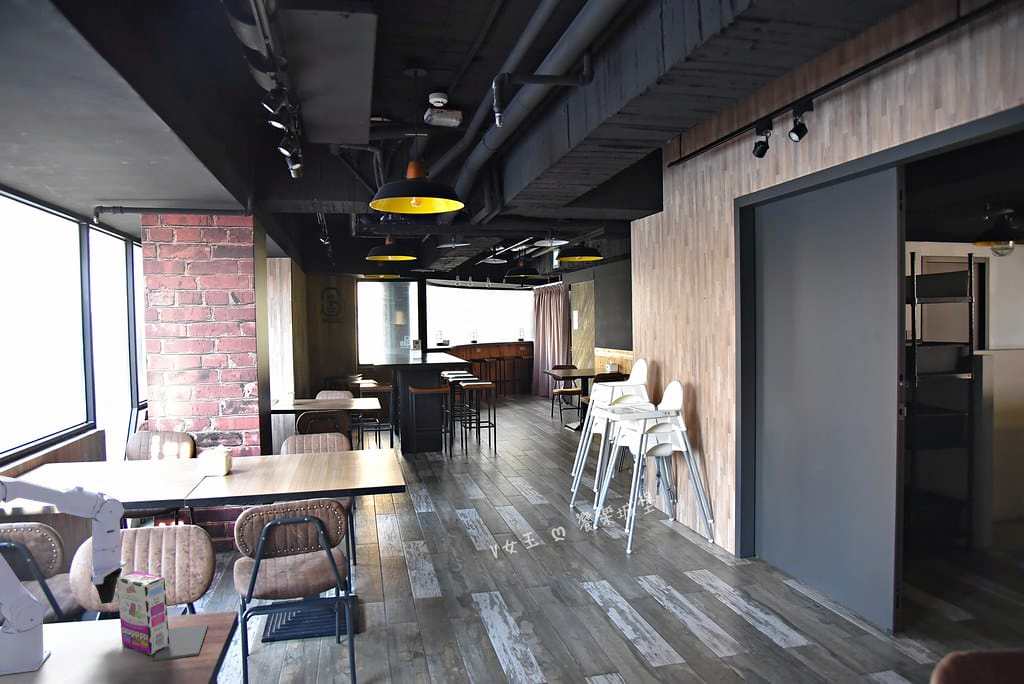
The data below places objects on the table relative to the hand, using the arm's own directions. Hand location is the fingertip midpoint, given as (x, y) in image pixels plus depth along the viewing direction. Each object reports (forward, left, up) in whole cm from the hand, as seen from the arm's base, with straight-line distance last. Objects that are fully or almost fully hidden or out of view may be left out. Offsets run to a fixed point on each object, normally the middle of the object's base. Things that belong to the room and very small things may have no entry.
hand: (107, 602), depth 156 cm
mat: (+18, -8, -8) cm, 21 cm away
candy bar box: (+10, -8, -8) cm, 15 cm away
